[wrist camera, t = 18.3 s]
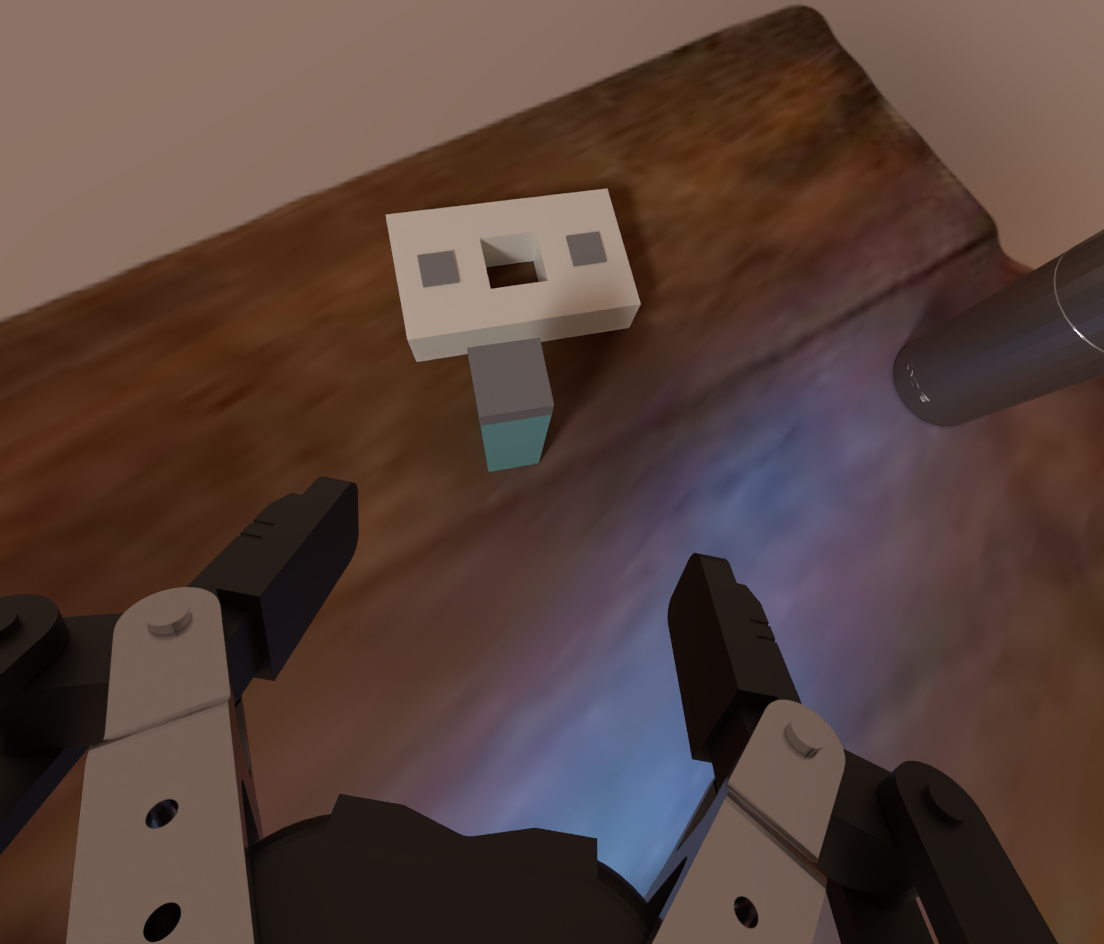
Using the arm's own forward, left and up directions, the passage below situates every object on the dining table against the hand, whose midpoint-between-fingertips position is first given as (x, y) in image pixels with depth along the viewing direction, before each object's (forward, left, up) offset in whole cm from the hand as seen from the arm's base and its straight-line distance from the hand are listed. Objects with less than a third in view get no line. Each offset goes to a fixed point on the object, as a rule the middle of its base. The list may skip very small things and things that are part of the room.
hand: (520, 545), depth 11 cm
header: (-5, -26, -29) cm, 39 cm away
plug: (-2, -11, -29) cm, 31 cm away
